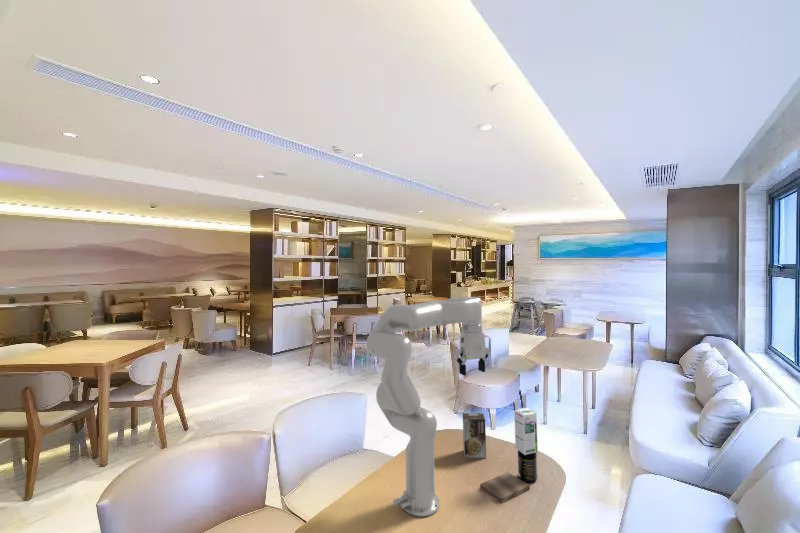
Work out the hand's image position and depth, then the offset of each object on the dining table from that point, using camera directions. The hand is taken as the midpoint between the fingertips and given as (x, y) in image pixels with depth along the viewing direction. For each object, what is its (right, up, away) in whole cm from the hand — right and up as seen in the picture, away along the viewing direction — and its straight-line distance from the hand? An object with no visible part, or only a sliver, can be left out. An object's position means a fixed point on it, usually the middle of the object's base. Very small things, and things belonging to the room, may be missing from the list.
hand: (472, 372), depth 141 cm
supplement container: (+19, -37, -7) cm, 43 cm away
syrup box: (+19, -27, -7) cm, 34 cm away
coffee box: (+3, -38, +11) cm, 40 cm away
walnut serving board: (+9, -37, -13) cm, 40 cm away
